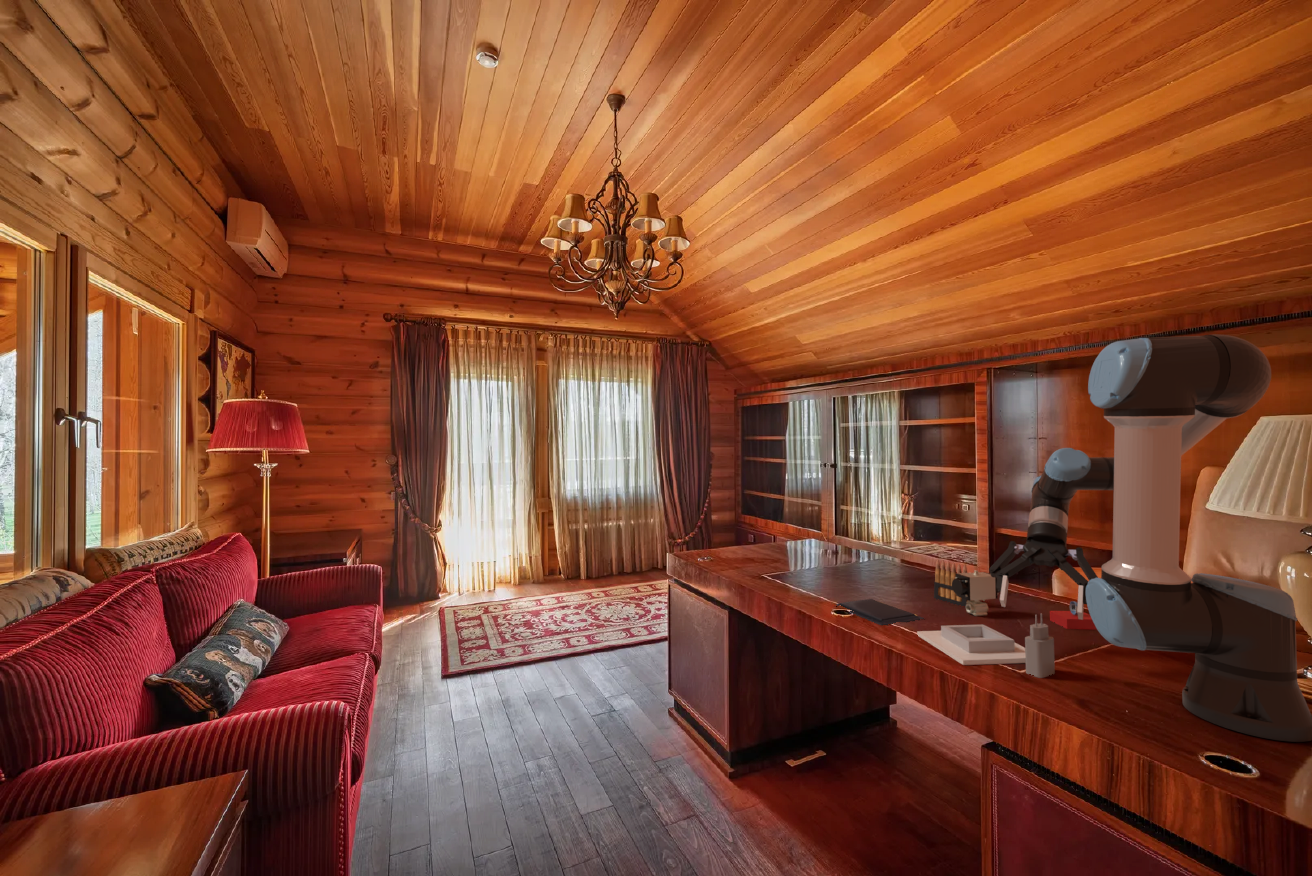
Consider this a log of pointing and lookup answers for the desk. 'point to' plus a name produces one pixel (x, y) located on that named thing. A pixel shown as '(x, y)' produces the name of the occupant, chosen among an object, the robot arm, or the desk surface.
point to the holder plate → (975, 645)
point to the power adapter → (1039, 651)
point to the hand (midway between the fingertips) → (1039, 609)
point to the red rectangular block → (1072, 618)
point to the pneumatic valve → (975, 590)
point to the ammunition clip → (947, 583)
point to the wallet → (879, 612)
